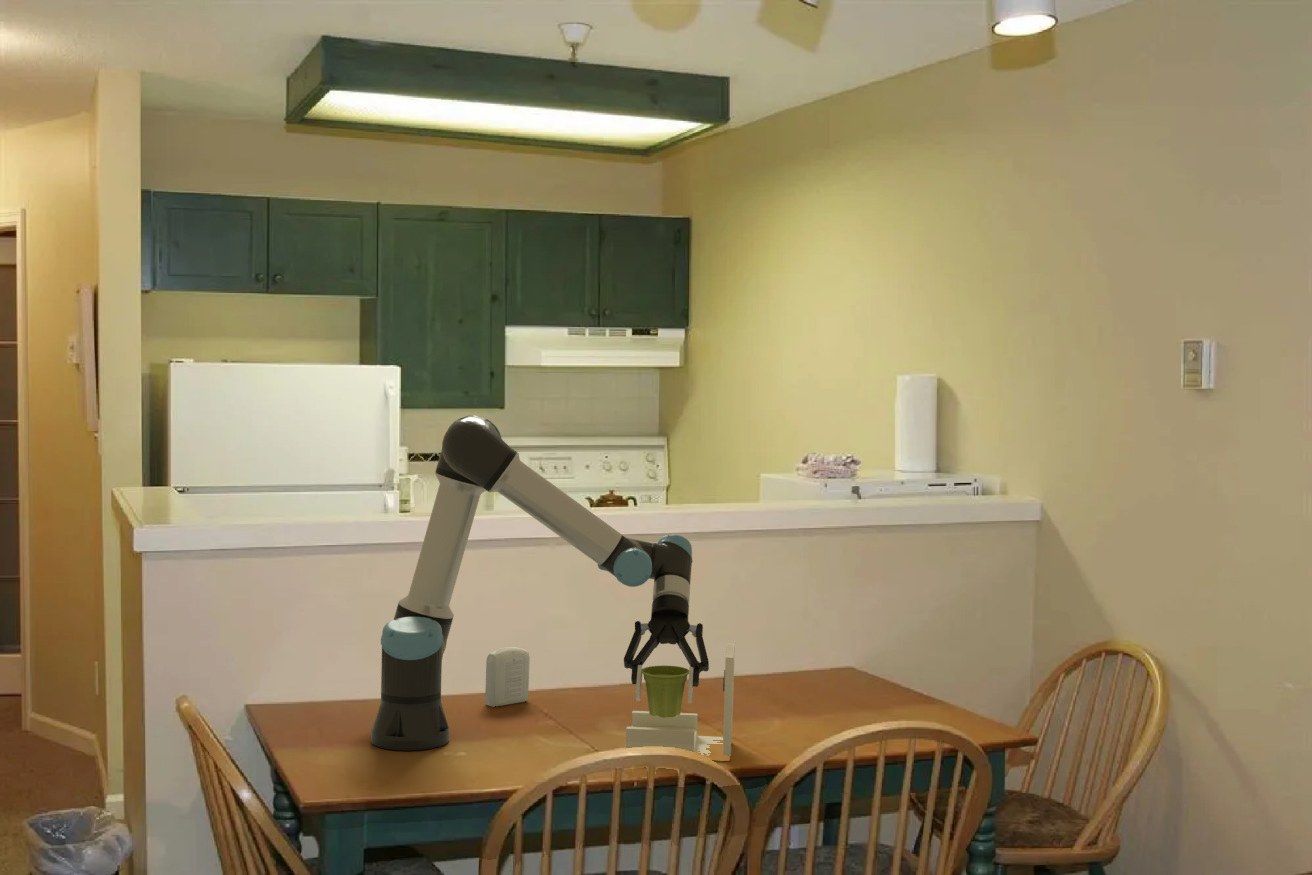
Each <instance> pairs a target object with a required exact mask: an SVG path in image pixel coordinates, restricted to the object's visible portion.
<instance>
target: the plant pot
mask: <svg viewBox="0 0 1312 875" xmlns="http://www.w3.org/2000/svg"><path fill="white" fill-rule="evenodd" d="M641 672H642V676H643V681H644V682H645V687H646V688H645V689H646V696H647V703H648V704H647V705H648V706H647V707H648V711H649V714H650V715H652V716H656V715H658V716H659V717H662V718H666V717H675V716H676V715H680V713H682V706H683V700H684V699H683V698H684V692H685V687H686V686H685V685H686V682H687V680H688V676H689V668H687V667H683V666H677V665H667V664H666V665H663V664H662V665H652V666H651V665H650V666H646V667H642V670H641Z"/></svg>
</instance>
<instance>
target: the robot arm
mask: <svg viewBox="0 0 1312 875" xmlns="http://www.w3.org/2000/svg"><path fill="white" fill-rule="evenodd" d="M435 468H436V469H435V473H434V475H435V476H436V479H437V480H438V482H439V485H438V490H437V492H436V496H435V500H434V504H433V506H432V509H431V510H432V511H431V513H430V518H429V521H428V524H427V528H426V532H425V535H424V538H423V542H422V545H421V549H420V553H419V557H418V559H417V563H416V567H415V570H414V573H413V577H412V581H411V583H410V584H411V585H410V587H409V592H408V594H407V595H406V596H404V597H403V598H401V599H400V600H398V603H397V606H396V611H395V613H394V616H393V619H392V620H389V621H388V622H386V624H385V625H384V626H383V629H382V632H381V633H382V634H381V637H380V645H381V668H380V670H381V672H380V673H381V675H380V676H381V677H380V678H381V679H380V681H381V682H380V704H379V707H378V710H377V712H376V715H375V719H374V721H373V724H372V727H371V731H370V733H371V734H370V742H371V744H372V745H373V746H375V747H378V748H382V749H385V750H392V751H403V752H404V751H405V752H407V751H409V752H410V751H422V750H430V749H434V748H439V747H442V746H444V745H446V744H448V743H449V741H450V728H449V727H450V725H449V724H448V720H447V716H446V714H445V711H444V710H445V709H444V706H443V703H442V673H443V672H442V669H443V668H442V667H443V666H442V664H443V657H444V654H445V650H446V648H447V642H448V638H449V635H450V632H451V631H450V630H451V628H452V624H453V620H454V615H455V614H454V613H453V611H452V609H451V607H450V603H451V600H452V597H453V593H454V590H455V587H456V583H457V578H458V575H459V572H460V568H461V564H462V561H463V558H464V556H465V555H464V554H465V551H466V546H467V544H468V540H469V537H470V533H471V529H472V526H473V523H474V519H475V516H476V512H477V508H478V505H479V501H480V498H481V494H483V493H484V492H486V491H487V492H488V493H498V494H500V495H502V496H503V497H504V498H506V499H507V500H508V501H510V502H512V503H513V504H514V505H515V506H516V507H518V508H519V509H521V511H523V512H525V513H526V514H528V515H529V516H530V517H532V518H533V519H534V520H536V521H538V522H539V523H540V524H542V525H543V526H545V527H546V528H548V529H549V530H550V531H551V532H553V533H554V534H556V535H558V536H559V537H560V538H561V539H563V540H564V541H565V542H567V543H568V544H569V545H571V546H572V547H574V548H575V549H577V550H578V551H580V552H581V553H582V554H584V555H585V556H586V557H588V558H589V559H590V560H592V561H593V562H595V563H596V564H597V567H598V569H600V570H601V571H605V572H608V573H609V574H611V575H612V576H614V577H615V579H616V580H617V581H618V582H619V583H621V584H623V585H624V586H627V587H629V588H634V587H635V588H637V587H639V586H642V585H644V584H645V583H647V582H648V580H654V581H653V590H652V591H653V592H652V604H651V614H650V620H649V621H648V622H646V623H645V622H644V623H642V622H641V621H640V620H636V621H635V622H634V632H633V634H632V637H631V640H630V642H629V645H628V647H627V650H626V652H625V655H624V657H623V666H624V668H625V669H630V670H631V676H630V679H631V685H635V701H636V702H641V694H642V683H643V682H642V681H643V674H642V672H641V670H642V669H643V665H644V664H645V663H646V661H647V660H648V658H649V657H650V656H651V654H652V653H653V651H654V650H655V649H656V648H657V647H658V646H659V645H666V644H669V645H677V646H678V648H679V649H680V650H681V652H682V654H683V656H684V658H685V660H686V661H687V663H688V665H689V666H688V670H689V674H688V685H687V686H688V688H687V703H688V704H692V703H693V692H694V691H693V690H694V687H695V688H698V687H699V685H700V684H699V683H700V674H701V672H708V671H709V670H710V666H709V665H710V663H709V658H708V654H707V648H706V645H705V642H704V638H703V636H704V635H703V633H704V625H703V624H702V623H701V622H700V623H697V624H696V625H695V624H690V622H689V614H690V598H691V597H690V596H691V578H692V576H691V575H692V564H693V547H692V544H691V542H690V541H689V540H688V539H687V538H686V537H684V536H683V535H679V534H672V535H669V534H666V535H664V536H662V537H661V538H660V539H659V540H658V541H657V542H648V541H645V540H644V541H643V540H639V539H633V538H629V537H625V536H624V535H623V534H622V533H621V532H619V531H618V530H616V529H615V528H613V527H612V526H611V525H609V524H608V523H606V522H605V521H604V520H603V519H601V518H600V517H598V516H597V515H596V514H594V513H593V512H591V511H590V510H589V509H587V508H586V507H584V506H583V505H582V504H581V503H579V502H577V500H575V499H573V498H572V497H571V496H569V495H568V494H567V493H565V492H564V491H563V490H562V489H560V488H558V487H557V486H556V485H554V484H553V483H552V482H550V481H549V480H547V479H546V478H545V477H543V476H542V475H541V474H539V473H538V472H536V471H535V470H534V469H532V468H531V467H530V466H528V465H527V464H525V462H523V461H521V458H520V454H519V452H518V451H517V450H515V449H514V448H512V447H511V446H509V445H508V443H507V442H505V441H504V440H503V438H502V435H501V432H500V430H499V429H498V427H497V426H496V425H495V424H494V423H493V422H492V421H491V420H489V419H487V418H484V417H482V416H477V415H466V416H462V417H460V418H458V419H457V420H455V421H454V422H453V423H452V424H450V425H449V427H448V428H447V430H446V432H445V434H444V435H443V438H442V442H441V450H440V454H439V457H438V461H437V465H436V467H435ZM647 631H649V633H650V636H649V639H648V640H647V641H646V643H645V644H644V645H643V647H642V648H641V649H640V651H639V652H637V650H638V648H639V645H640V643H641V640H642V636H644V635H645V634H646V632H647ZM688 633H691V635H692V636H693V637H694V638H695V644H696V647H697V648H696V649H697V651H698V656H699V659H700V661H698V659H697V658H696V655H695V653H694V652H693V649H692V648H691V646H690V644H689V643H688V640H687V639H686V636H687V635H688ZM636 653H638V654H637V655H636ZM635 655H636V656H635Z"/></svg>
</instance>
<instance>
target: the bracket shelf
mask: <svg viewBox="0 0 1312 875" xmlns="http://www.w3.org/2000/svg"><path fill="white" fill-rule="evenodd" d="M735 645H736V643H735V642H734V643H733V642H727V643H726V649H725V650H726V652H725V659H724V660H725V662H724V663H725V665H724V669H723V671H724V672H723V679H722V692H723V693H724V696H723V697H724V699H723V700H724V701H723V728H722V729H723V731H722V732H723V733H722V736H708V735H707V736H706V735H705V736H704V735H698V713H691V712H689V713H687V712H681V713H680V715H676V716H675V717H666V718H662V717H659V716H658V715H656V716H652V715H650V714H649V710H648V711H646V710H645V711H644V710H632V713H631V726H626V729H625V749H626V748H632V747H643V746H663V747H675V748H681V749H686V750H689V751H692V752H696V753H701V755H704V754H703V753H705V754H707V755H706V756H708V757H709V755H710V754H708V753H711V752H710V751H709V750H706V748H710V747H709V746H710V745H707V744H723V755H727V756H731V757H732V747H731V744H733V719H734V718H733V716H734V715H733V713H734V712H733V711H734V684H735V682H734V681H735V652H736V651H735V650H736V649H735ZM713 740H723V743H717V742H720V741H713ZM698 751H700V752H698Z"/></svg>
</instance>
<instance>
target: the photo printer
mask: <svg viewBox="0 0 1312 875" xmlns="http://www.w3.org/2000/svg"><path fill="white" fill-rule="evenodd" d="M485 662H486V664H485V666H486V667H485V668H486V669H485V690H484V691H485V692H484V693H485V694H484V695H485V697H484V698H485V704H486V706H488V707H491V708H496V707H499V706H500V707H501V706H506V705H507V706H508V705H512V704H519V703H525V701H526V702H528V701H529V686H530V685H529V684H530V682H529V681H530V654H529V652H528V650H527V649H525V648H522V647H517V646H506V647H500V648H498V649H496V650H494V651H491V652H490V653H489V654H488V655H487V657H486V661H485ZM495 706H496V707H495Z"/></svg>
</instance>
